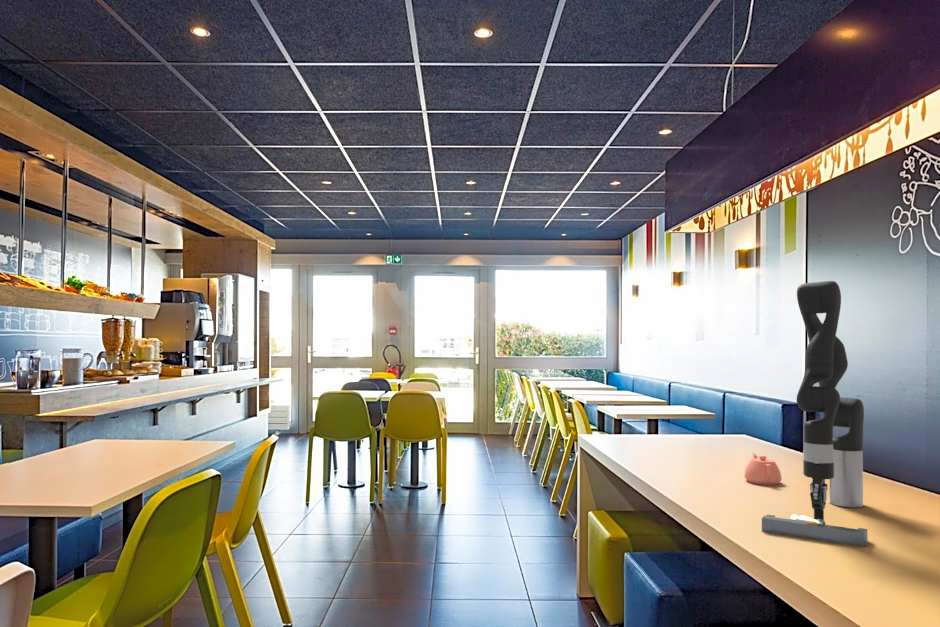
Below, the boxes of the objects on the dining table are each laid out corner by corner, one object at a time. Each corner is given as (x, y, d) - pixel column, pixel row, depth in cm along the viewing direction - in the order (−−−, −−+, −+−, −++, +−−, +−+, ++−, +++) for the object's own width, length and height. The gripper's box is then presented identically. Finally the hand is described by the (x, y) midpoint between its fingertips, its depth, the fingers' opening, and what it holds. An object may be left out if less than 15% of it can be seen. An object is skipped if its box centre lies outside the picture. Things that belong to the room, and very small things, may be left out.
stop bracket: (767, 525, 190) (767, 511, 190) (867, 540, 176) (867, 525, 176) (761, 531, 184) (761, 516, 184) (865, 547, 170) (864, 531, 170)
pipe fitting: (797, 526, 191) (789, 529, 186) (797, 512, 192) (790, 514, 187) (829, 532, 186) (821, 535, 181) (829, 517, 186) (822, 520, 181)
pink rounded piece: (752, 486, 241) (752, 459, 241) (737, 476, 258) (737, 450, 259) (788, 487, 239) (788, 460, 240) (770, 477, 257) (770, 451, 258)
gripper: (807, 454, 196) (807, 516, 195) (799, 461, 185) (799, 526, 184) (837, 457, 192) (837, 520, 191) (830, 464, 181) (831, 531, 180)
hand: (818, 523), depth 188 cm, fingers closed
